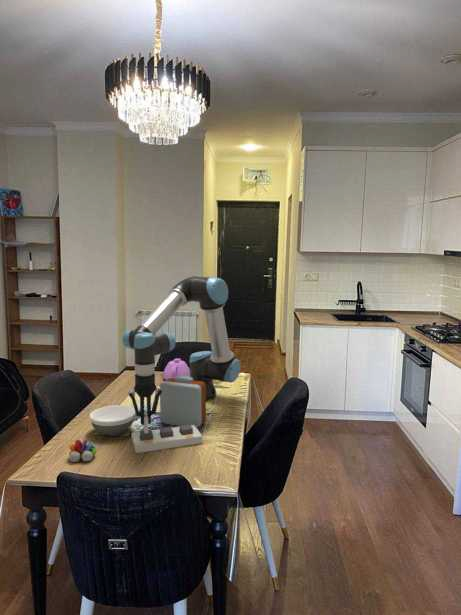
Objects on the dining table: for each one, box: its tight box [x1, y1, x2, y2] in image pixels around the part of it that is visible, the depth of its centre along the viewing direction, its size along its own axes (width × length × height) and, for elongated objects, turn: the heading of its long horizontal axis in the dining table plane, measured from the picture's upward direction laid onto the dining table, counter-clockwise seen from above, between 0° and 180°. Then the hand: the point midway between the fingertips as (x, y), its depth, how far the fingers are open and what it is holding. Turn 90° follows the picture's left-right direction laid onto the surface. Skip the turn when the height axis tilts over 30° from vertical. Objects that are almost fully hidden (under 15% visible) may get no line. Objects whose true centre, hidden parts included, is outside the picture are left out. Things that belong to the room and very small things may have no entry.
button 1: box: [139, 429, 153, 441], centre depth 183 cm, size 4×4×3 cm
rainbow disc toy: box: [68, 438, 97, 463], centre depth 172 cm, size 8×10×7 cm
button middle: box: [159, 426, 173, 438], centre depth 186 cm, size 4×4×3 cm
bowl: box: [89, 404, 136, 437], centre depth 195 cm, size 19×19×8 cm
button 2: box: [178, 425, 193, 435], centre depth 188 cm, size 4×4×3 cm
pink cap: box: [162, 358, 190, 381], centre depth 267 cm, size 22×16×12 cm
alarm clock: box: [159, 376, 207, 429], centre depth 204 cm, size 18×9×21 cm, turn 71°
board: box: [131, 425, 203, 454], centre depth 186 cm, size 26×12×3 cm, turn 110°
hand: (145, 431), depth 182 cm, fingers closed
